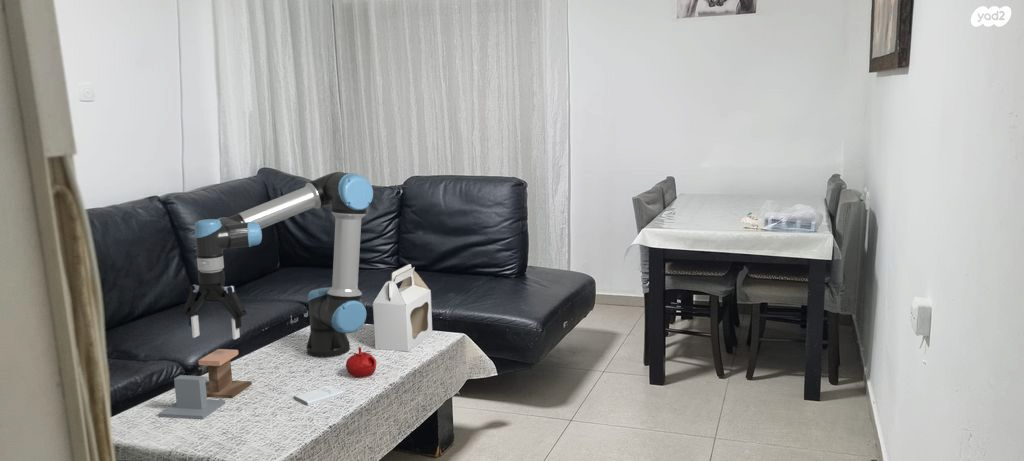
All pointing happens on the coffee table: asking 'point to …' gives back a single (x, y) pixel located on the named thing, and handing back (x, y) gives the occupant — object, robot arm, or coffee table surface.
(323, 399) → the external hard drive
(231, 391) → the walnut stand
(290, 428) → the coffee table surface
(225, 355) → the terracotta tile
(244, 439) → the coffee table surface
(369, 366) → the pomegranate
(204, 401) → the slate stand
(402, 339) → the gable box
